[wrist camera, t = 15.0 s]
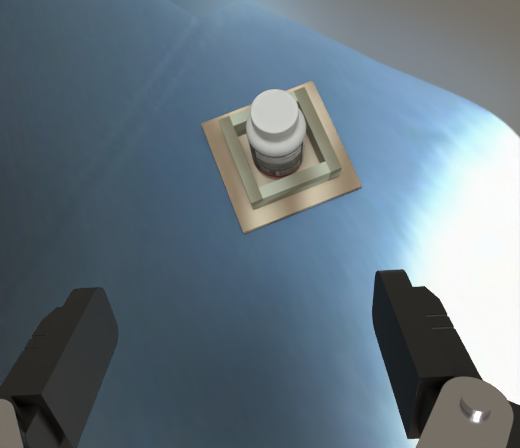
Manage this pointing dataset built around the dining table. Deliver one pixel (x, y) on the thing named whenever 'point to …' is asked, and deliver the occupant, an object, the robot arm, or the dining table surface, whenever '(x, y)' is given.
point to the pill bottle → (276, 134)
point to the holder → (288, 188)
